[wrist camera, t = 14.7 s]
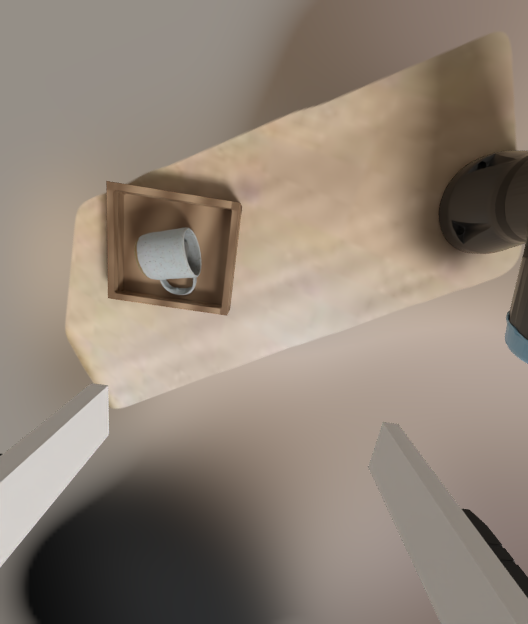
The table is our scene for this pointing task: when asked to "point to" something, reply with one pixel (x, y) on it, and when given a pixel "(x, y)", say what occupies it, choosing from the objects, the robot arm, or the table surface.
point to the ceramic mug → (169, 257)
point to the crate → (166, 216)
